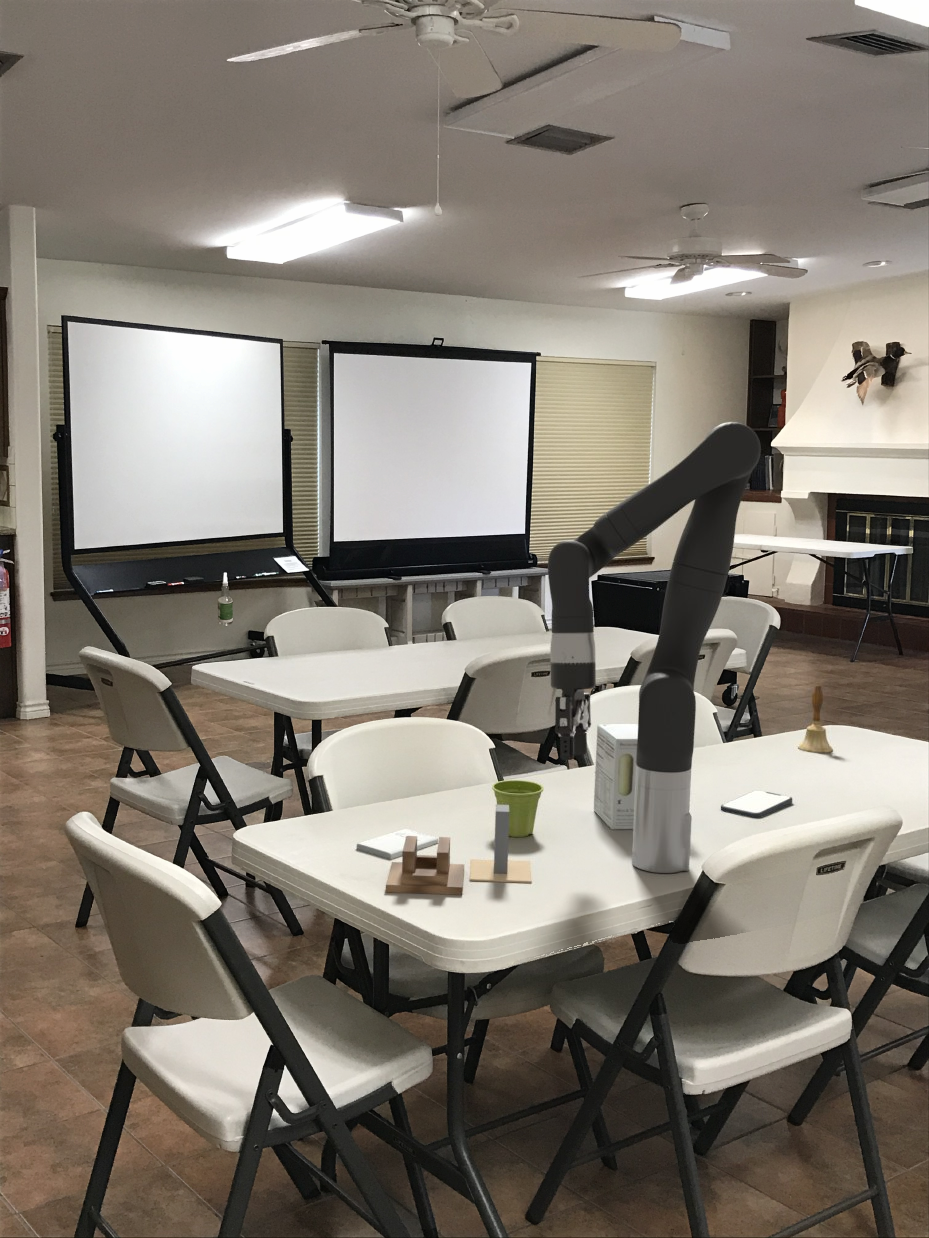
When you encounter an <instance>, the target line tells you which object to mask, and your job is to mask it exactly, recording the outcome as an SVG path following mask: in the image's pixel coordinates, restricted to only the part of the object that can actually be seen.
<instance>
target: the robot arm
mask: <svg viewBox="0 0 929 1238" xmlns="http://www.w3.org/2000/svg"><path fill="white" fill-rule="evenodd" d="M761 450H762V449H761V442H760V439H759V437H758V435H757V433H756V432H755V431H754V430H753V429H752V428H751V427H749V426H748V425H746V424H744V423H741V422H737V421H728V422H723V423H721V424H719V425H717V426H715V427H713V429H711V430H710V431H709V433H708V434H707V435H706V437H704V439H703V440H702V442H701V443H699V444H698V445H697V446H696V447H695V448H694V449H693V450H692V451H691V452H690V453H689V454H688V455H687V456H686V457H685V458H683V459H682V460H681V461H680V462H679V463H677V464H676V465H675V466H674V467H673V468H671V469H669V470H668V471H667V472H666V473H664V474H662V475H661V476H659V477H658V478H656V479H655V480H653V481H652V482H650V483H649V484H647V485H645V486H644V487H642V488H641V489H639V490H638V491H637V490H636V492H634V493H633V494H631V495H629V496H628V497H626V498H625V499H624V500H621V502H619V503H618V504H617V505H615V506H614V507H612V508H611V509H609V510H608V511H607V512H605V513H604V514H602V515H601V516H600V517H599V518H598V519H596V521H594V524H593V525H592V527H590V528H589V529H588V530H586V531H585V532H583V533H582V534H581V535H579V536H577V537H576V538H575V539H565V540H563V541H560V542H558V543H556V544H555V545H554V546H553V547H552V549H551V550H550V552H549V554H548V561H547V577H548V585H549V586H548V587H549V593H550V599H551V639H550V646H549V647H550V651H549V652H550V687H551V688H552V689H554V690H561V696H556V697H555V699H554V700H555V705H554V706H555V716H554V717H555V719H554V720H555V722H554V724H555V728H554V731H555V732H554V733H555V734H558V737H559V753H560V755H559V757H560V759H561V760H562V761H572V760H573V759H575V756H577V755H578V756H584V755H587V752H588V744H587V743H588V742H587V740H588V738H587V737H588V735H587V733H588V732H589V729H590V728H591V726H592V721H591V715H592V714H591V693H590V692H585V690H591V689H594V688H595V687H596V685H597V684H596V680H597V679H596V678H597V677H596V673H597V671H596V642H595V641H596V640H595V634H594V631H595V630H594V627H595V626H594V625H595V624H594V623H595V621H594V606H593V602H592V600H591V598H590V578H591V577H593V576H595V575H596V574H597V573H598V572H600V570H602V569H603V568H605V567H606V566H607V564H609V563H610V562H611V561H612V560H614V559H615V558H616V557H617V556H618V555H620V554H622V553H624V552H625V551H627V550H628V549H630V548H631V547H633V546H634V545H636V544H637V543H638V542H640V541H641V540H643V539H644V538H645V537H648V536H649V535H650V534H651V533H653V532H654V531H655V530H657V529H658V528H659V527H661V526H662V525H663V524H664V523H666V522H667V521H668V520H670V518H672V517H673V516H674V515H675V514H678V512H680V511H681V510H682V509H683V508H686V506H688V505H689V504H690V503H691V502H693V501H694V503H693V506H692V509H691V511H690V514H689V517H688V519H687V521H686V523H685V526H684V528H683V531H682V533H681V536H680V538H679V541H678V544H677V547H676V551H675V553H674V557H673V561H672V563H671V568H670V573H669V576H668V580H667V585H666V589H665V595H664V600H663V606H662V613H661V620H660V628H659V634H658V638H657V642H656V645H655V647H654V648H655V649H654V651H653V654H652V657H651V660H650V663H649V665H648V668H647V670H646V673H645V675H644V678H643V680H642V682H641V685H640V688H639V691H638V692H639V693H638V715H637V716H638V719H637V720H638V721H637V722H638V723H637V724H638V740H637V754H636V779H635V781H636V782H635V802H634V825H633V829H632V850H631V855H632V856H631V857H632V858H631V863H632V865H633V866H634V867H635V868H638V869H639V870H642V871H646V872H650V873H660V874H673V873H679V872H686V871H687V872H688V871H690V859H691V858H690V857H691V841H692V840H691V839H692V838H691V837H692V836H691V835H692V814H691V812H690V809H691V808H690V806H691V805H690V802H691V785H692V784H691V782H692V767H693V765H692V764H693V754H694V750H695V748H694V747H695V745H694V744H695V729H696V715H697V714H696V712H697V711H696V709H697V707H696V706H697V703H696V702H697V701H696V695H695V692H694V691H695V690H694V689H695V680H696V674H697V667H698V661H699V658H700V652H701V649H702V645H703V644H704V641H705V638H706V636H707V634H708V632H709V630H710V628H711V625H712V623H713V621H714V619H715V617H716V615H717V612H718V609H719V607H720V604H721V601H722V598H723V595H724V590H725V588H726V584H727V581H728V576H729V572H730V567H731V563H732V558H733V549H734V544H735V534H736V525H737V518H738V512H739V509H740V505H741V501H742V499H743V497H744V494H745V490H746V489H747V485H748V482H749V480H750V477H751V475H752V473H753V470H754V469H755V468H756V467H757V464H758V463H759V461H760V458H761V453H762V452H761Z"/></svg>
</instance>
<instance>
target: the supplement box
mask: <svg viewBox="0 0 929 1238" xmlns="http://www.w3.org/2000/svg"><path fill="white" fill-rule="evenodd" d="M637 740H638V723H634V724H633V723H622V724H621V723H619V724H617V723H616V724H615V723H614V724H613V723H611V724H608V723H607V724H604V723H603V724H597V725H596V747H595V748H596V750H595V767H594V768H595V770H594V787H593V788H594V791H593V792H594V795H593V811H594V812H595V813H596V814H597V815H598V816H599V818H601V820H603V822H604V823H605V824H606V825H607V826H608V827H609V828H610V830H633V825H634V802H635V782H636V781H635V779H636V754H637Z"/></svg>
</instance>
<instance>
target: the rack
mask: <svg viewBox="0 0 929 1238" xmlns="http://www.w3.org/2000/svg"><path fill="white" fill-rule="evenodd" d="M436 850H437V851H436V855H429V854H427V855H425V854H418V850H417V836H406V839H405V843H404V847H403V851H402V857H401V858H402V859H401V860H402V861H398V862H397V861H392V862H391V865H390V867H389V868H390V869H389V871H388V876H387V880H386V882H385V893H399V894H401V893H402V894H404V893H405V894H429V895H460V896H462V895H463V891H464V879H465V864H464V863H463V864H462V863H451V837H450V836H439V837H438V843H437V847H436Z"/></svg>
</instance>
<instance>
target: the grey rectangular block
mask: <svg viewBox="0 0 929 1238" xmlns="http://www.w3.org/2000/svg"><path fill="white" fill-rule="evenodd" d="M494 814H495V819H494V820H495V821H494V852H493V853H494V854H493V855H494V856H493V860H494V874H507V869H508V860H509V837H510V836H509V805H497V804H495V812H494Z"/></svg>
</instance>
